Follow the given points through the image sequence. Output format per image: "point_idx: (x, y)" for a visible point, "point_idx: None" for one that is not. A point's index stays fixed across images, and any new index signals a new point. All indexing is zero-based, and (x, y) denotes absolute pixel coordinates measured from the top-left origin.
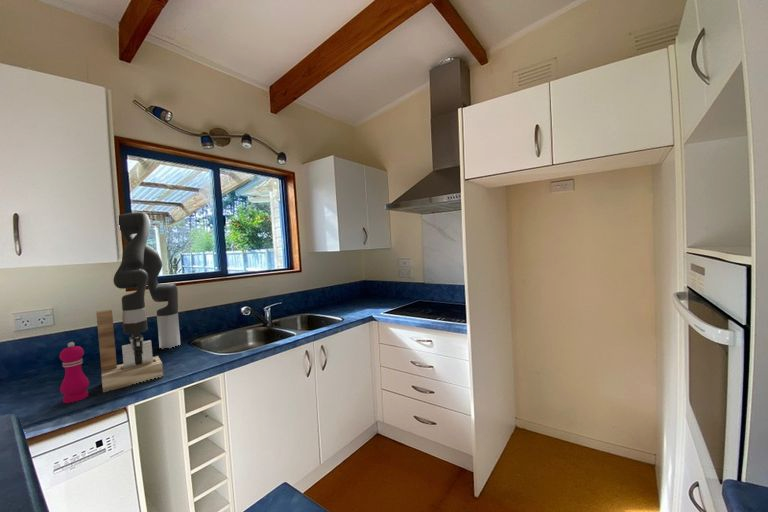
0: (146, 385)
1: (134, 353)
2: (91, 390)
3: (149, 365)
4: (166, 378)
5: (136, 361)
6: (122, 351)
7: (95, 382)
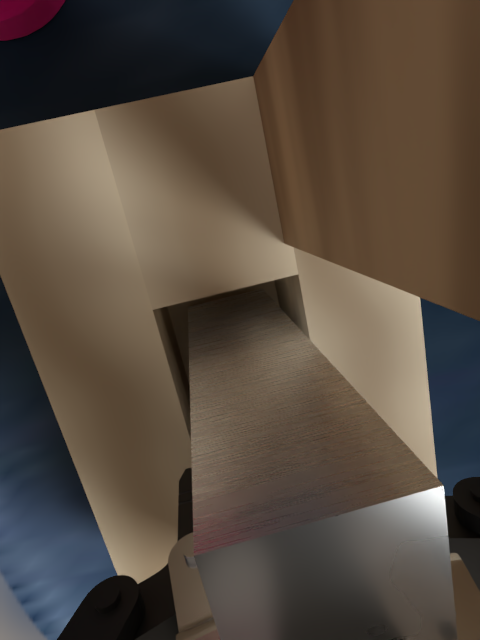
0: (7, 464)
1: (98, 612)
2: (162, 37)
3: (131, 559)
4: (92, 562)
5: None
6: (345, 405)
7: None
